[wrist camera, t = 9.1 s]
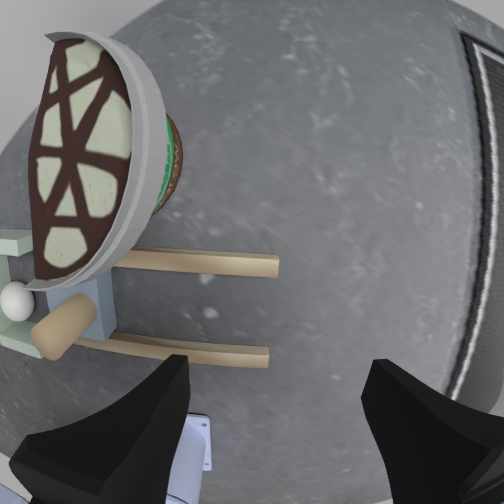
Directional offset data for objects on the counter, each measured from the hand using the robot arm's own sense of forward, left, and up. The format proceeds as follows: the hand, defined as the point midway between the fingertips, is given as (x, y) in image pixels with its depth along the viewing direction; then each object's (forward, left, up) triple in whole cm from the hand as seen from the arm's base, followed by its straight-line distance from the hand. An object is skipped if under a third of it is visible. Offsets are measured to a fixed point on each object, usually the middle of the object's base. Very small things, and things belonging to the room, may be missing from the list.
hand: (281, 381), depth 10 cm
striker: (-2, +13, -10) cm, 17 cm away
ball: (-3, +21, -9) cm, 23 cm away
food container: (+8, +8, -11) cm, 16 cm away
